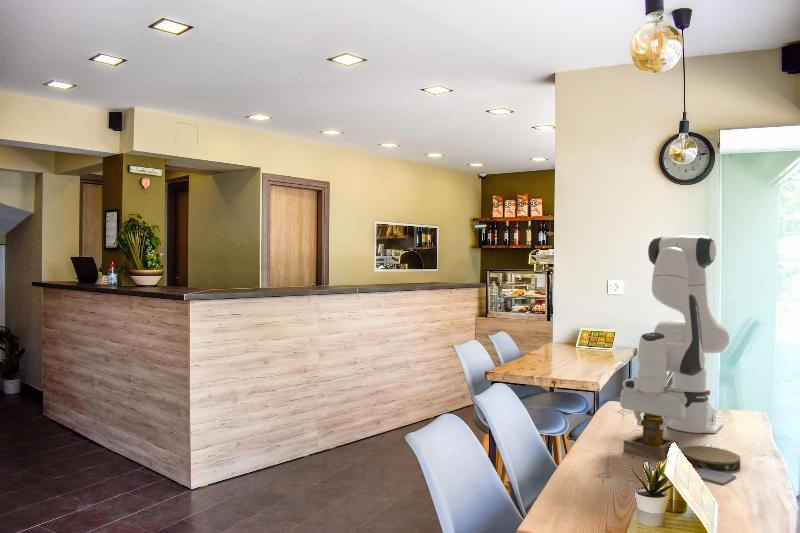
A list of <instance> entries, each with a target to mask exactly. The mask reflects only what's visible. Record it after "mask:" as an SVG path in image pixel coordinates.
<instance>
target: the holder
mask: <svg viewBox="0 0 800 533" xmlns="http://www.w3.org/2000/svg"><path fill="white" fill-rule="evenodd" d="M642 442H643V433H640V434H637V435H635V436H633V437H630V438H627V439H624V440H623V452H625V453H627V454H628V453H629V454H632V455H637V456H639V457H644V458H647V459H651V460H652V459H653V460H655V461H662V460H663V459H666V458H668V457H667V454H668V451H669V448H670V446H671V444H672V443H674V442H675V443H676V444H677V446H678V447H679V441H677V440H673V439H668V438H665V437H663V445H661V446H658V447H655V446H651V445H646V444H642Z"/></svg>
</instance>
